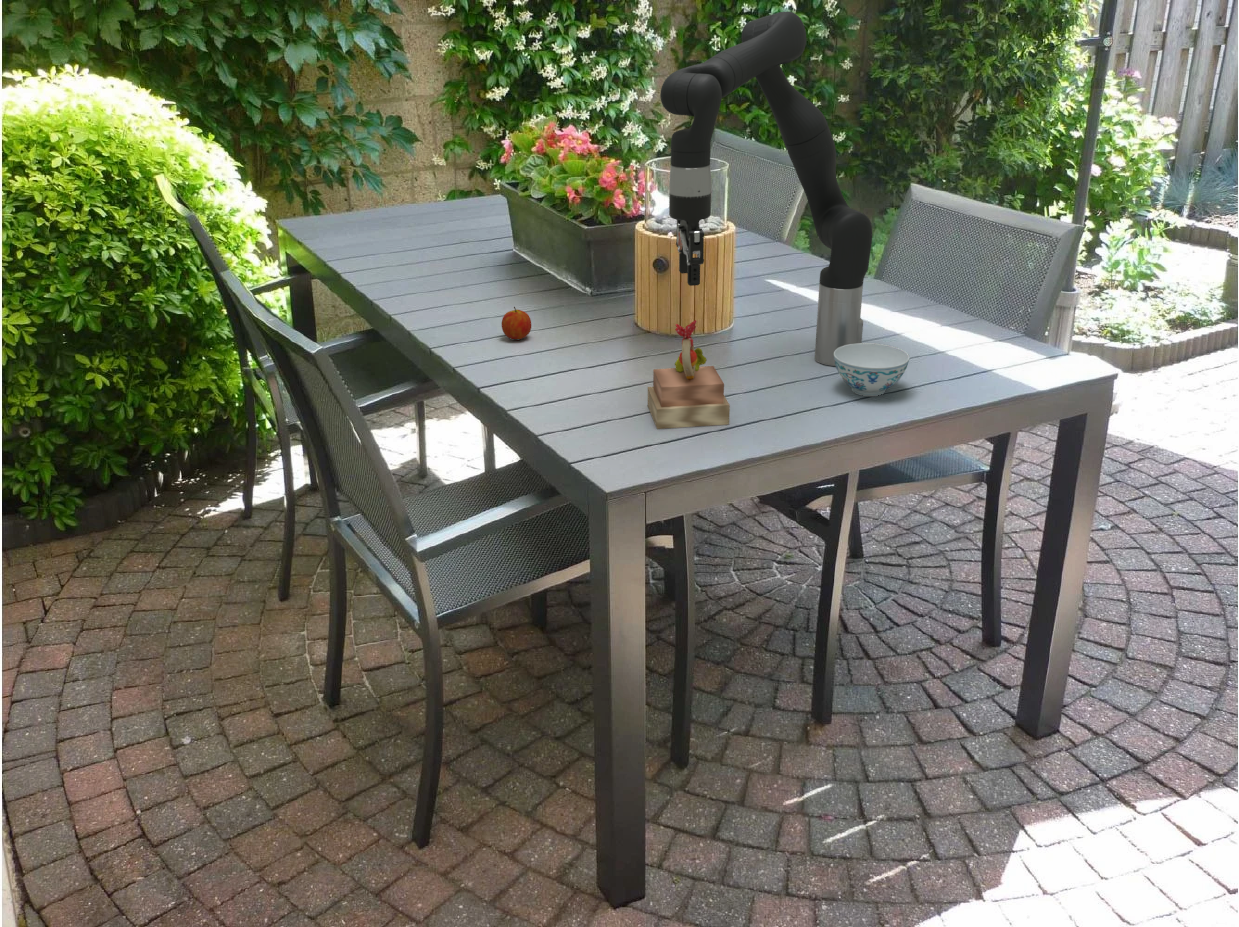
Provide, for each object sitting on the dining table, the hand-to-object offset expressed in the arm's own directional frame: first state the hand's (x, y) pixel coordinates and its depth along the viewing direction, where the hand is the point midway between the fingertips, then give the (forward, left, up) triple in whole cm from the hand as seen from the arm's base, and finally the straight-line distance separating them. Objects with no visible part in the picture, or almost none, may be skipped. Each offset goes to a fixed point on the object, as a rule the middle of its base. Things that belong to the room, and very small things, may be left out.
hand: (689, 278), depth 206 cm
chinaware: (-39, -7, -28) cm, 48 cm away
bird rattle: (0, -1, -20) cm, 20 cm away
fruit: (+31, -52, -28) cm, 67 cm away
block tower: (0, 0, -27) cm, 27 cm away
